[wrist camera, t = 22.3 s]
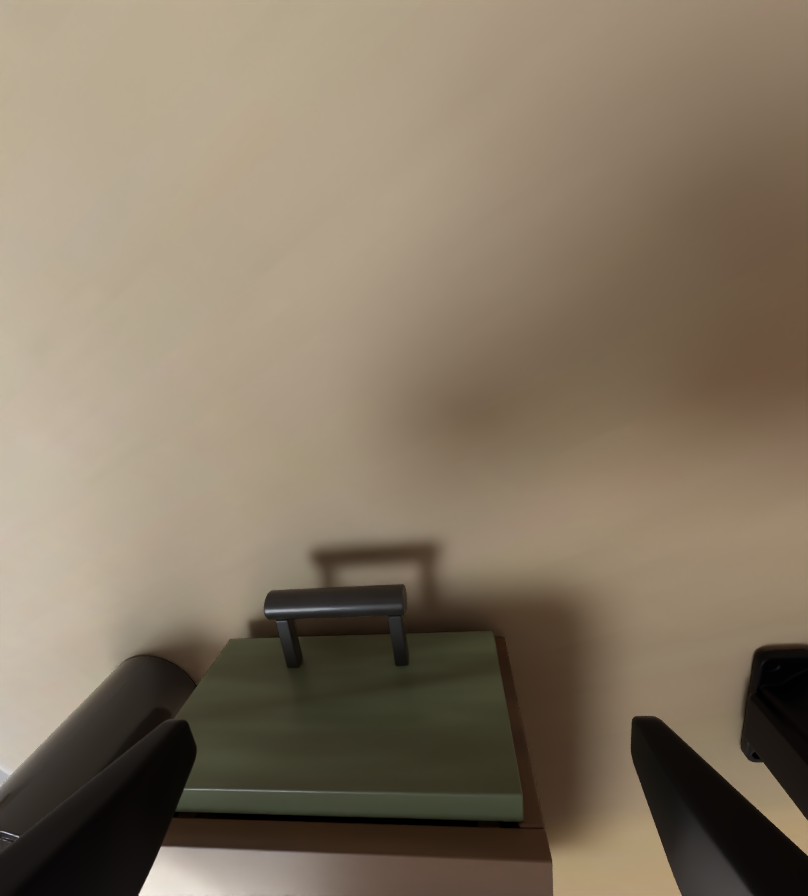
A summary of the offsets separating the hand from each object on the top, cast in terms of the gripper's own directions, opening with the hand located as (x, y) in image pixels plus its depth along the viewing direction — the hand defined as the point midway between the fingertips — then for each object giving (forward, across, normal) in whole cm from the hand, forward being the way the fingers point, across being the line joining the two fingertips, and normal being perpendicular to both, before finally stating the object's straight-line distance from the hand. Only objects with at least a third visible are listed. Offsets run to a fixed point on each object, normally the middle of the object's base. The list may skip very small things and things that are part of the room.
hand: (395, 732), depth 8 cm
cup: (+10, +17, +10) cm, 22 cm away
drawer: (+10, +4, +12) cm, 16 cm away
